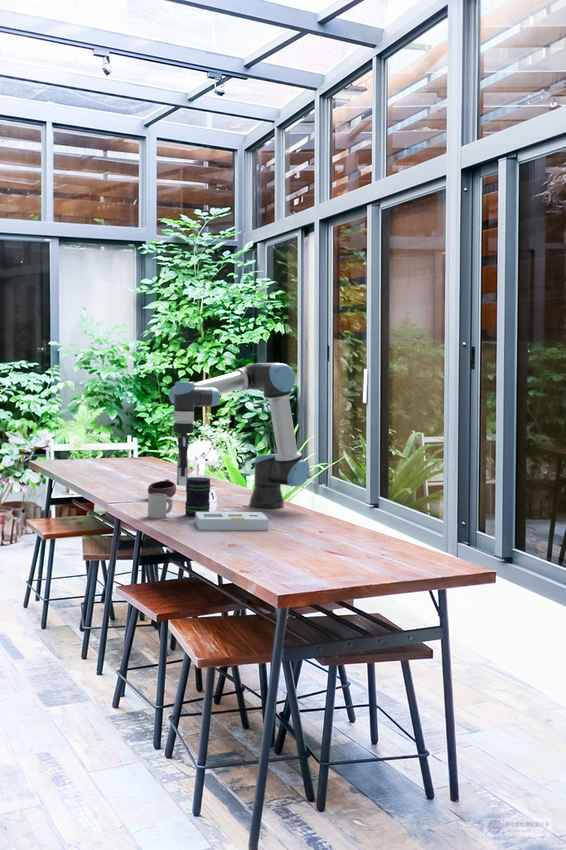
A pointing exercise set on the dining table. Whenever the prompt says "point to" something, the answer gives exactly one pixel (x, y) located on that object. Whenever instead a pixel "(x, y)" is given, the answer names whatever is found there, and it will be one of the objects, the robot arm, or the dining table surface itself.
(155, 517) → the cup
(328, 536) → the dining table surface
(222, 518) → the block
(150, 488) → the bowl
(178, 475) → the grey rounded cylinder
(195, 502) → the storage jar
